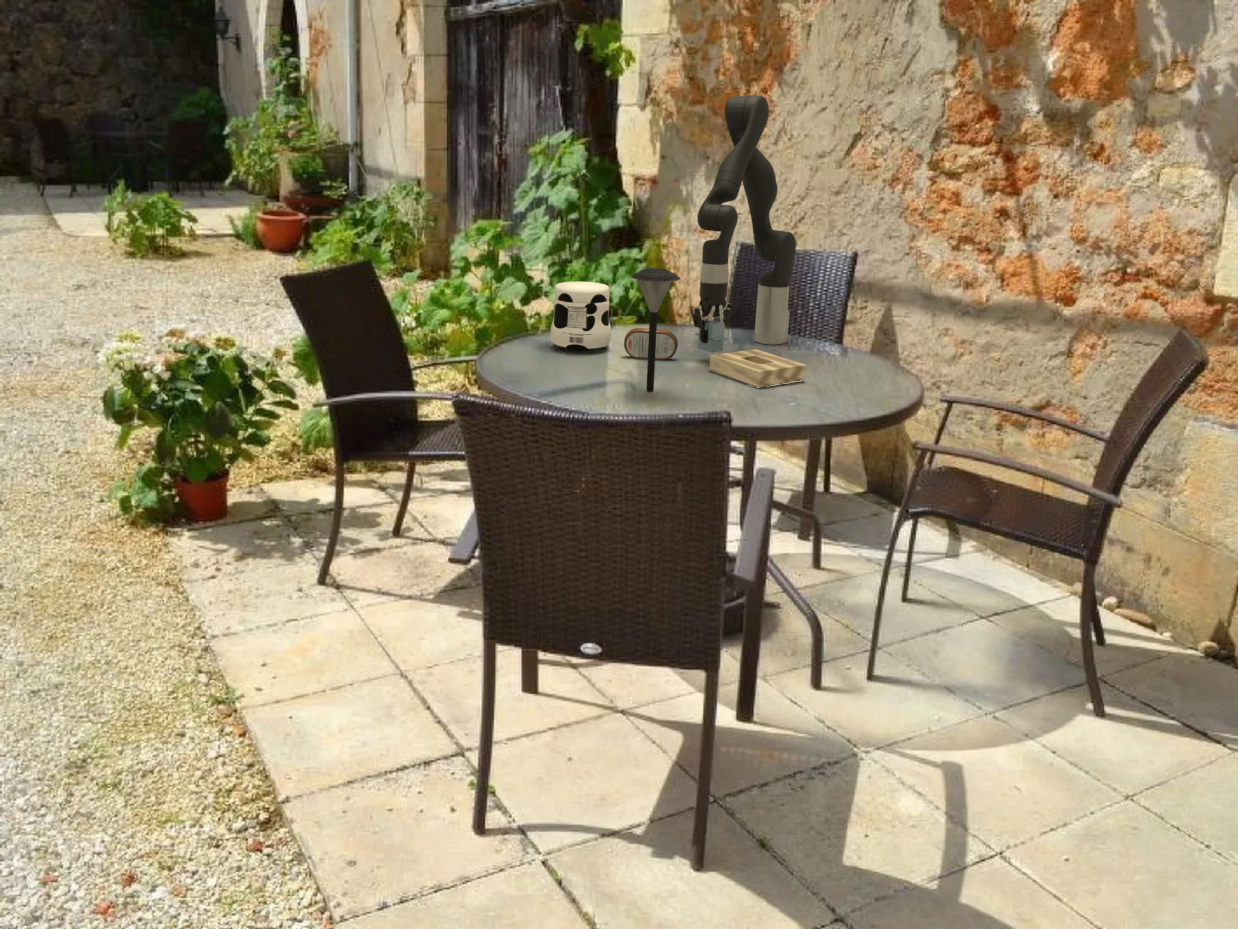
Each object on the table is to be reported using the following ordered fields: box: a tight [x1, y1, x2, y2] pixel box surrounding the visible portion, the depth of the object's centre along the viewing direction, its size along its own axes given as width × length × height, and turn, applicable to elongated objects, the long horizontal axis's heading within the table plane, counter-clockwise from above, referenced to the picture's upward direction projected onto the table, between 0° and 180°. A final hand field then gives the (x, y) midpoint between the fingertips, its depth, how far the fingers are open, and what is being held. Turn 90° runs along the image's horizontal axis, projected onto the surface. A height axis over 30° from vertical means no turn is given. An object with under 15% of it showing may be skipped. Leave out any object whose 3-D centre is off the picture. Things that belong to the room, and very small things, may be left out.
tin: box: [623, 327, 679, 361], centre depth 299 cm, size 15×3×8 cm, turn 84°
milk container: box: [550, 280, 612, 353], centre depth 307 cm, size 17×17×18 cm
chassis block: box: [708, 348, 807, 388], centre depth 285 cm, size 16×20×4 cm
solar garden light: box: [629, 267, 681, 393], centre depth 263 cm, size 12×12×30 cm
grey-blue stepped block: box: [694, 318, 728, 354], centre depth 296 cm, size 4×9×8 cm, turn 34°
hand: (710, 341), depth 297 cm, fingers closed on grey-blue stepped block, 4 cm apart
